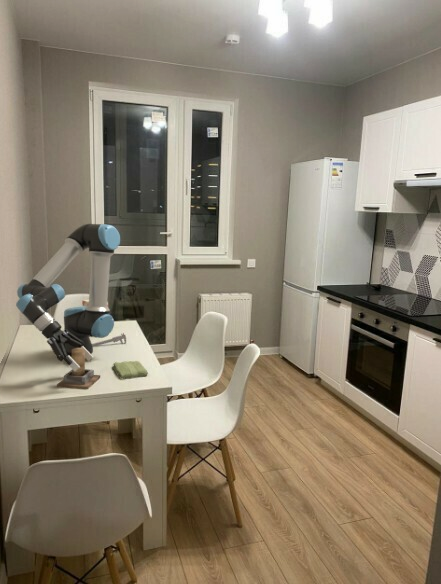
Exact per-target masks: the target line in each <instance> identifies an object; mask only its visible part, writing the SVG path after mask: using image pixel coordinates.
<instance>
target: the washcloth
mask: <svg viewBox="0 0 441 584" xmlns="http://www.w3.org/2000/svg"><path fill="white" fill-rule="evenodd" d="M112 369H113V371H114V372H115V373H116V374H117V376H118V377H119V378H120V379H121V380H123V379H124V378H125V379H131V378H138V377H146V376H148V374H149V373H148V370H147V369H146V368H145V367H144V366H143V365H142V363H141V361H139V360H132V361H131V360H127V361H125V360H123V361H121V362H117V361H116V362H115V361H114V362H113V364H112Z"/></svg>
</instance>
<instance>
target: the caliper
mask: <svg viewBox="0 0 441 584" xmlns="http://www.w3.org/2000/svg"><path fill="white" fill-rule="evenodd" d="M123 340H124V341H123ZM117 342H120V343H121V344H122V345H123V344H127V336H126V334H124V332H122V333H120V335H118V336H113V337H112V338H109V339H105V340H101V341H97V342H94V343H92V346H93V348H95V347H97V346H101V345H105V344H108V343H117Z"/></svg>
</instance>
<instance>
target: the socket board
mask: <svg viewBox="0 0 441 584" xmlns="http://www.w3.org/2000/svg"><path fill="white" fill-rule="evenodd" d="M100 378H101V374H95V371H94V369H89V368H87V369H86V368H85V375H84V376H73V375H72V369H71V370H70V371H68V372H67V373H65V374H63V379H62V380H61V381H59V382H58V383H57V384H56V387H58V388H69V389H79V390H88V389H89V388H91V387H92V386H93V385H94V384H95V383H96V382H97V381H98V380H100Z"/></svg>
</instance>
